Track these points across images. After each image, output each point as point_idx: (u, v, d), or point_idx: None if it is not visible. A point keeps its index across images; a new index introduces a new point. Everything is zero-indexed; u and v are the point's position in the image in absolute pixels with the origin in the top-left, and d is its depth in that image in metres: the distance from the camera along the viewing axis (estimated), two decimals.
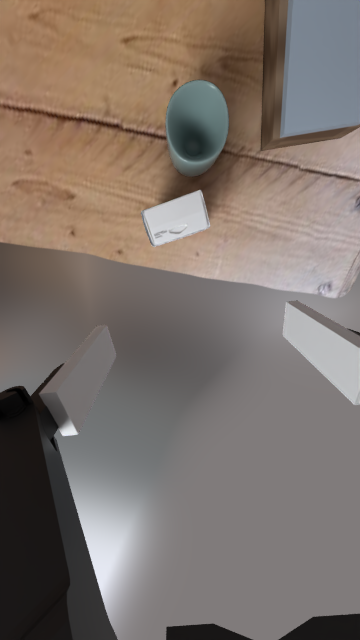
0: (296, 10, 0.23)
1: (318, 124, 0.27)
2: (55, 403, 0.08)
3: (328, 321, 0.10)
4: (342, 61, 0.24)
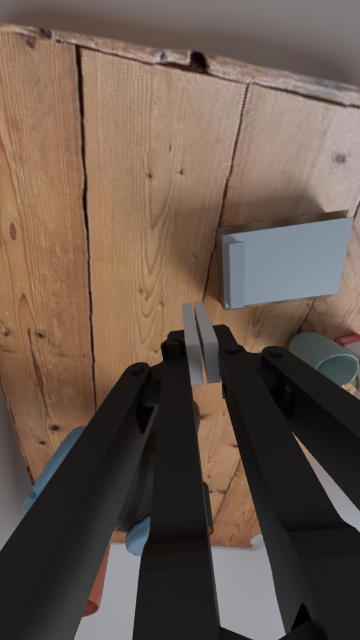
0: (268, 299, 0.32)
1: (341, 264, 0.29)
2: (195, 354, 0.10)
3: (205, 318, 0.13)
4: (303, 256, 0.29)
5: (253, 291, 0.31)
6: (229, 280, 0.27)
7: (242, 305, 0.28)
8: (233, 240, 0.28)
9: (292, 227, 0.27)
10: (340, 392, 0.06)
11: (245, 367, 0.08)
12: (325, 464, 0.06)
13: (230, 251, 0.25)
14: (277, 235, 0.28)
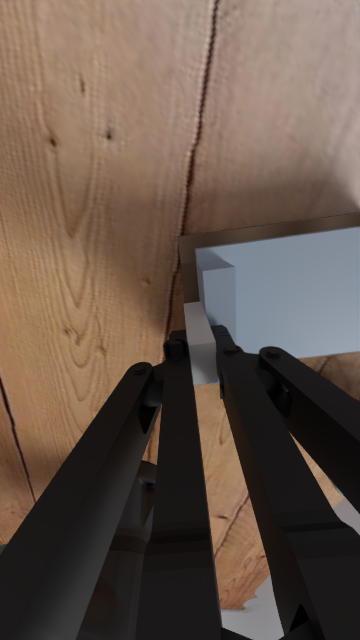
0: None
1: None
2: (197, 354, 0.10)
3: (203, 318, 0.13)
4: (345, 286, 0.16)
5: (253, 344, 0.18)
6: None
7: None
8: (215, 259, 0.15)
9: (328, 235, 0.14)
10: (337, 393, 0.06)
11: (242, 367, 0.08)
12: (322, 464, 0.06)
13: (206, 285, 0.12)
14: (298, 249, 0.14)
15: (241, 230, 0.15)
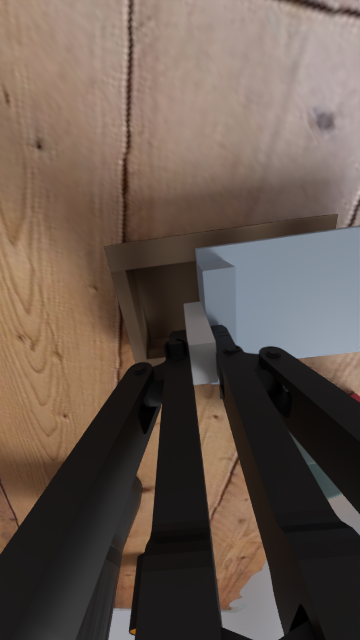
0: None
1: None
2: (197, 354, 0.10)
3: (203, 318, 0.13)
4: (346, 286, 0.16)
5: (253, 344, 0.18)
6: None
7: None
8: (215, 259, 0.15)
9: (329, 234, 0.14)
10: (337, 392, 0.06)
11: (242, 367, 0.08)
12: (322, 464, 0.06)
13: (205, 285, 0.12)
14: (299, 249, 0.14)
15: (166, 239, 0.15)
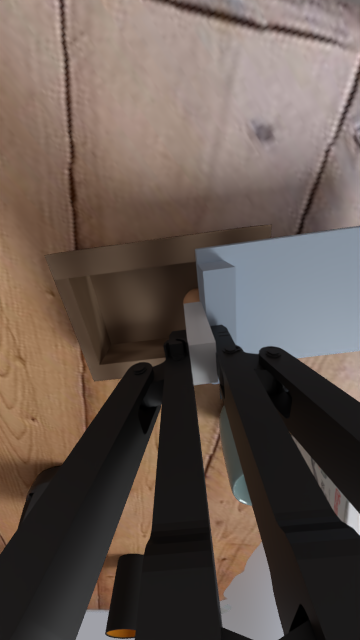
0: None
1: None
2: (197, 354, 0.10)
3: (203, 318, 0.13)
4: (345, 286, 0.16)
5: (253, 344, 0.18)
6: None
7: None
8: (215, 259, 0.15)
9: (328, 235, 0.14)
10: (337, 392, 0.06)
11: (242, 367, 0.08)
12: (322, 464, 0.06)
13: (206, 285, 0.12)
14: (298, 249, 0.15)
15: (105, 248, 0.15)
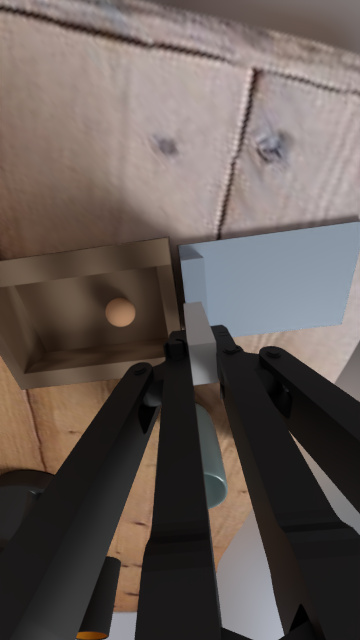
0: (247, 331, 0.23)
1: (347, 286, 0.21)
2: (197, 354, 0.10)
3: (203, 318, 0.13)
4: (295, 275, 0.20)
5: (226, 321, 0.22)
6: None
7: None
8: (193, 253, 0.19)
9: (277, 235, 0.19)
10: (337, 392, 0.06)
11: (242, 367, 0.08)
12: (323, 464, 0.06)
13: (183, 271, 0.17)
14: (256, 246, 0.19)
15: (6, 261, 0.16)
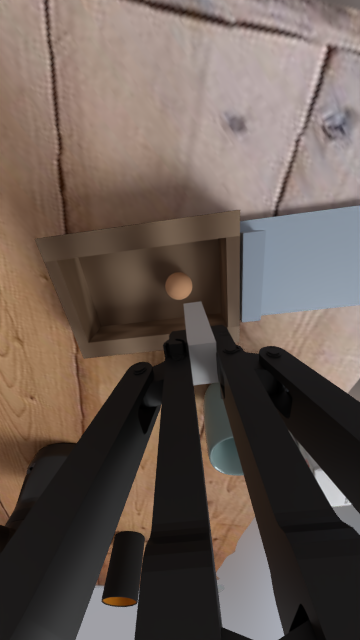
0: (291, 308, 0.24)
1: None
2: (197, 354, 0.10)
3: (203, 318, 0.13)
4: (343, 252, 0.21)
5: (271, 298, 0.24)
6: (241, 284, 0.20)
7: (257, 317, 0.21)
8: (248, 229, 0.20)
9: (331, 211, 0.20)
10: (337, 392, 0.06)
11: (242, 367, 0.08)
12: (323, 464, 0.06)
13: (244, 243, 0.18)
14: (308, 222, 0.20)
15: (89, 232, 0.17)
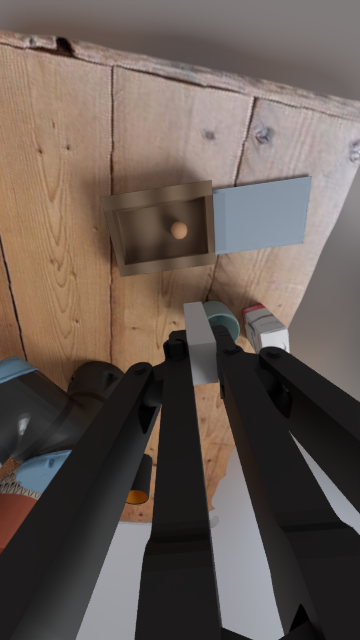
0: (247, 248, 0.39)
1: (304, 217, 0.37)
2: (197, 354, 0.10)
3: (203, 318, 0.13)
4: (274, 209, 0.36)
5: (234, 240, 0.38)
6: None
7: (224, 248, 0.36)
8: None
9: (264, 184, 0.34)
10: (337, 393, 0.06)
11: (242, 367, 0.08)
12: (323, 464, 0.06)
13: (213, 200, 0.32)
14: (252, 191, 0.35)
15: (130, 193, 0.31)
